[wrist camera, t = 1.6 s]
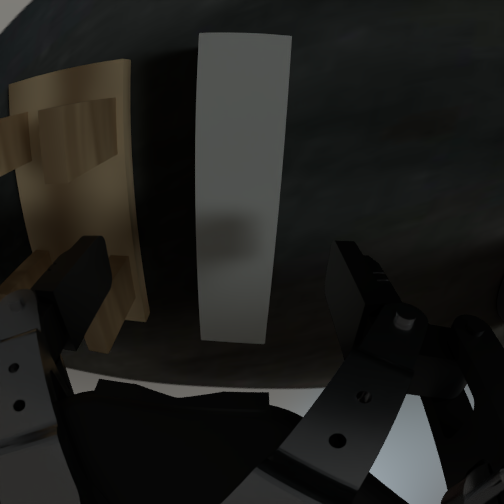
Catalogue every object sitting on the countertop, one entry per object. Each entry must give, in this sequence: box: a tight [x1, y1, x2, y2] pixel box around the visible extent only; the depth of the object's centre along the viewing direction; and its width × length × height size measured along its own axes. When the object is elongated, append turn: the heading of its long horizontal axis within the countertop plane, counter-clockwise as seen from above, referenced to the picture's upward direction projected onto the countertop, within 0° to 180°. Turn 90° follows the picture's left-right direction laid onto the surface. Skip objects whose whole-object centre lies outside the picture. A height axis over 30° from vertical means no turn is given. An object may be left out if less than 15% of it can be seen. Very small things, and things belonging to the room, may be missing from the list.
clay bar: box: [195, 33, 292, 344], centre depth 15 cm, size 4×15×4 cm, turn 177°
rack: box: [0, 59, 150, 354], centre depth 15 cm, size 8×16×6 cm, turn 177°
